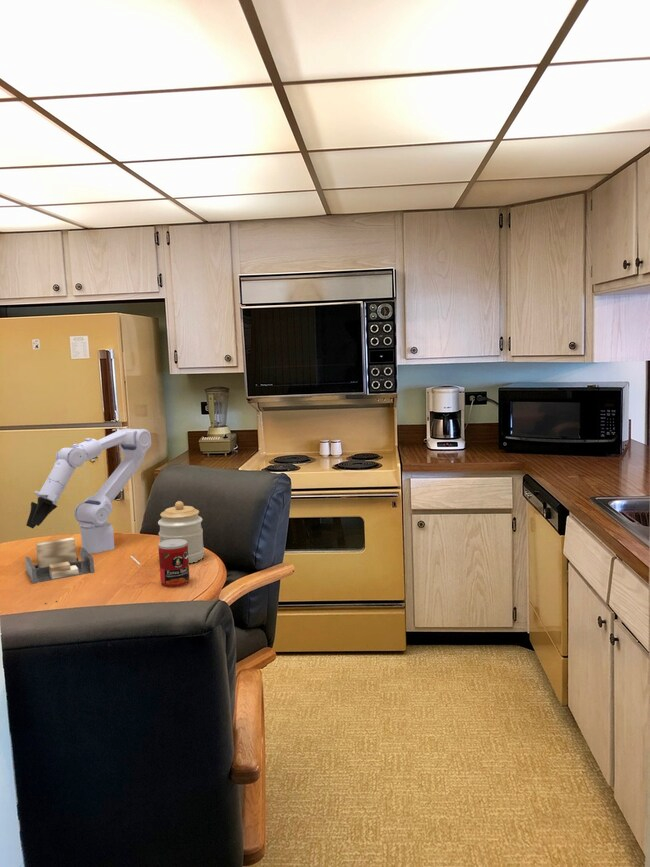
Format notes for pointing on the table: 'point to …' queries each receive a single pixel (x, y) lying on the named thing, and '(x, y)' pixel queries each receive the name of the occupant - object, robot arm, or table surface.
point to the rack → (43, 575)
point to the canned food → (173, 562)
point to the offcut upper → (59, 567)
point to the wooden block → (56, 552)
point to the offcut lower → (65, 572)
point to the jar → (183, 528)
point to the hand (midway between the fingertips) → (32, 525)
